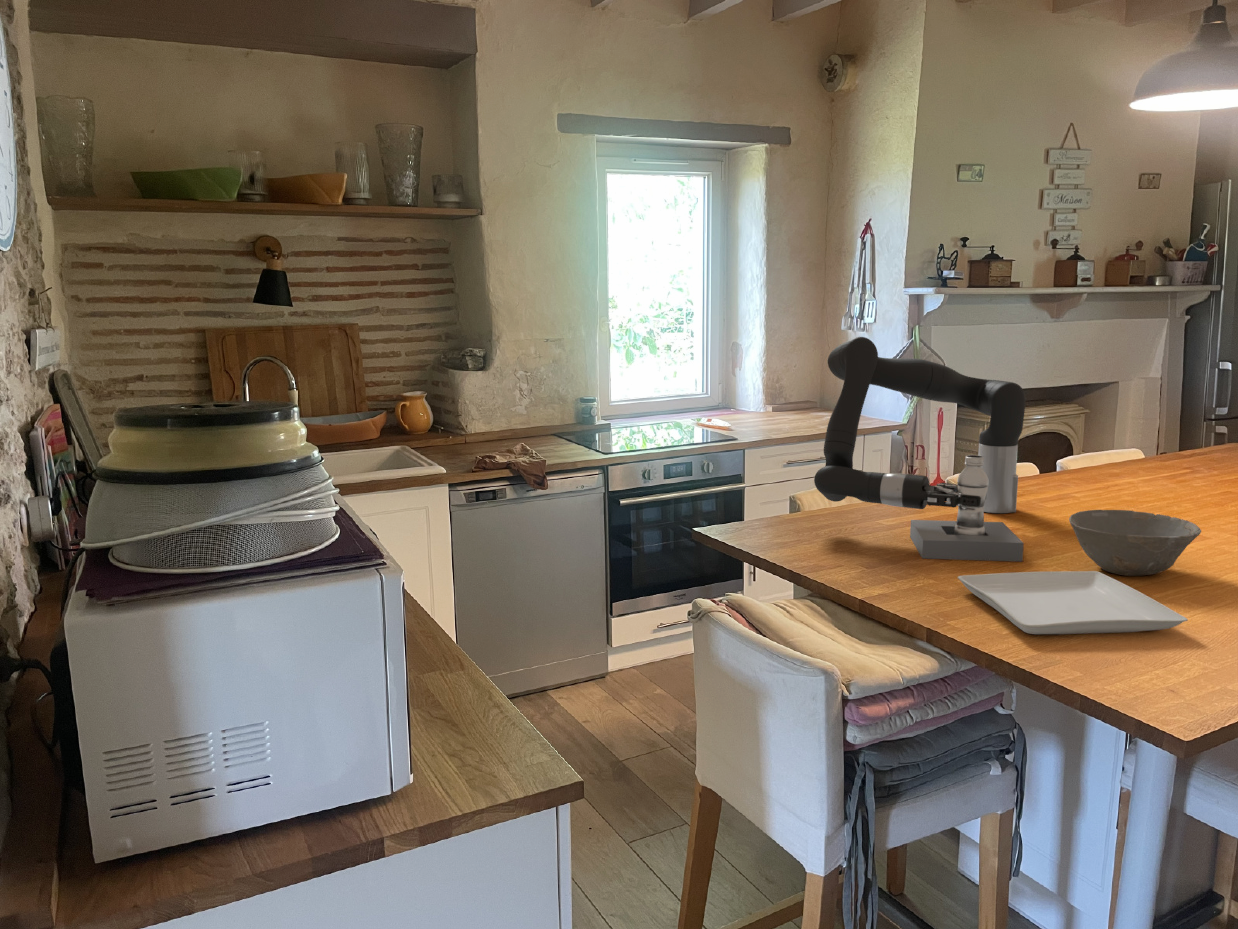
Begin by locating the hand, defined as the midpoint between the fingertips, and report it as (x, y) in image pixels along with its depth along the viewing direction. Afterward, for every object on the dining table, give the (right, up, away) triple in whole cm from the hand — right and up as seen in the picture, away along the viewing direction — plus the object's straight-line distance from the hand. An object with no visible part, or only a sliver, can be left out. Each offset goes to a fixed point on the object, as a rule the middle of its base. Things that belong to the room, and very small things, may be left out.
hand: (983, 498), depth 195 cm
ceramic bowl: (+23, -14, -14) cm, 31 cm away
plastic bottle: (-2, -11, +3) cm, 11 cm away
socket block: (-3, -11, +4) cm, 12 cm away
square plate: (-1, -19, -37) cm, 41 cm away
